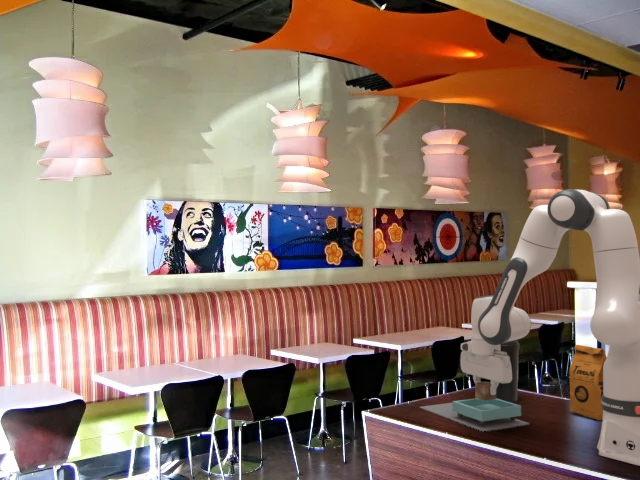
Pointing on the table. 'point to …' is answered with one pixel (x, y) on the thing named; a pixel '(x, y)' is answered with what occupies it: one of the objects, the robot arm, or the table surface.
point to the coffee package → (587, 381)
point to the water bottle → (510, 389)
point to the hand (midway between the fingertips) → (485, 392)
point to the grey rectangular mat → (490, 425)
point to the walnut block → (483, 391)
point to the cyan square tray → (486, 409)
